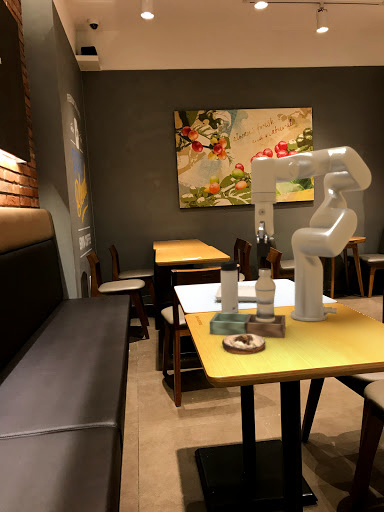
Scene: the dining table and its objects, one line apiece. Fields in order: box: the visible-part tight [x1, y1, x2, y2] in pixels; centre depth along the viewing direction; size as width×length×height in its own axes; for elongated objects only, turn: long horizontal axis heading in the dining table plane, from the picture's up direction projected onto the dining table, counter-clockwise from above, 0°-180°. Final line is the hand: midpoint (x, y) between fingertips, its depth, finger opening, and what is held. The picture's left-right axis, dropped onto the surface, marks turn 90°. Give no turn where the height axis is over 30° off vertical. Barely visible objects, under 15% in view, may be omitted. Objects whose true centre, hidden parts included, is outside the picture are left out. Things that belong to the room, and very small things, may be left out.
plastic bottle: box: [254, 268, 277, 324], centre depth 126 cm, size 6×7×20 cm
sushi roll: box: [221, 334, 267, 355], centre depth 114 cm, size 15×15×4 cm
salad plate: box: [214, 285, 257, 303], centre depth 174 cm, size 21×21×3 cm
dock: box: [209, 312, 286, 339], centre depth 128 cm, size 23×11×4 cm, turn 75°
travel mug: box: [220, 260, 239, 313], centre depth 147 cm, size 6×7×20 cm
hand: (263, 254), depth 124 cm, fingers open, 9 cm apart
